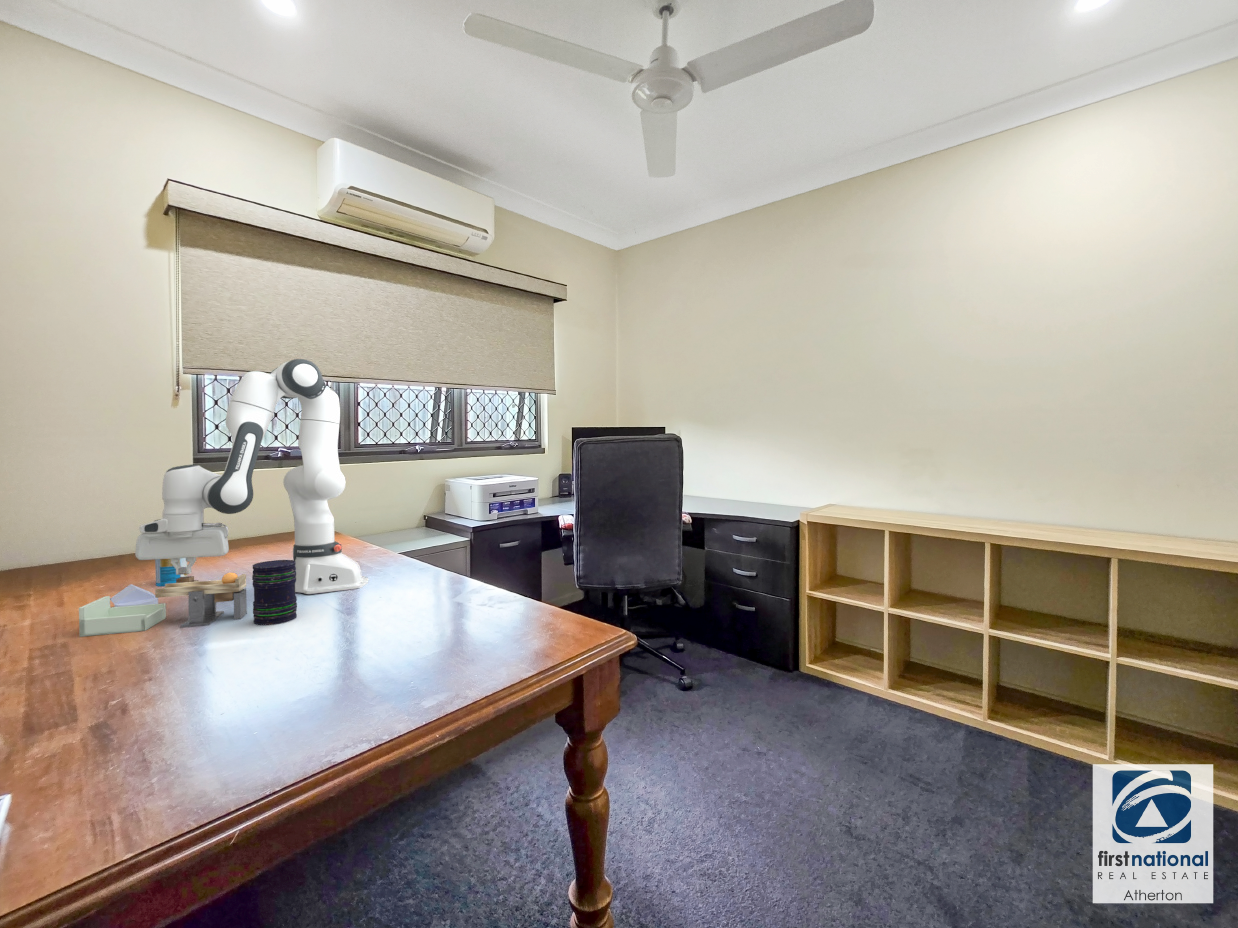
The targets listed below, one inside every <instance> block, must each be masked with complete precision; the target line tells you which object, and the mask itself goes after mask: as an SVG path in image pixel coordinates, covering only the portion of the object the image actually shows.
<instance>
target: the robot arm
mask: <svg viewBox="0 0 1238 928" xmlns="http://www.w3.org/2000/svg"><path fill="white" fill-rule="evenodd" d="M326 387H327V385H326V382H325V380H324V379H323V374H322V371H321V370H320V369H319V367H318V366H317V365H316V364H315V363H314V362H312V361H311V360H308V359H303V358H294V359H291V360H289V361H286V362H284V363H282V364H280V365H279V366H278V367H276V368H275V369H273V370H272V371H271V372H269V373H267V372H263V371H259V370H251V371H248V372H246V373H244V375H243V376H242V377H241V379H240V380H239V382H238V383H237V386H236V387H235V389H234V392H233V393H232V396H231V397H230V400H229V401H230V402H229V404H228V407H227V410H226V414H225V415H226V416H225V426H226V428H227V430H228V431H229V433H230V435H231V441H232V444H231V449H230V452H229V456H228V459H227V462H226V465H225V468H224V472H223V473H222V474H219V473H216V472H213V471H211V470H208V469H206V468H205V467H202V466H201V465H199V464H185V465H179V466H174V467H170V468H169V469H168V470H166V471H165V472H164V475H163V478H162V479H163V480H162V489H161V490H162V491H161V493H162V494H161V497H162V501H163V509H162V516H161V517H162V518H161V519H156V520H153V521H151V522H147V523H144V524H141V525H140V526H139V532H140V533H141V534H139V535H138V537H137V539H136V543H135V557H136V558H137V559H138V560H139V561H146V560H148V561H149V560H150V561H151V560H152V561H153V560H155V559H171V564H172V565H173V566H174V567H175V569H176V575H181V574H187V575H190V574H192V567H193V566H194V564H195V563H196V561H197V558H209V557H212V558H213V557H223V556H225V555H227V554H228V553H229V540H228V537H229V527H228V526H227V525H226V524H223V522H204V521H205V520H204V518H205V515H204V514H205V513H204V510H205V509H209V508H211V509H214V510H216V511H217V512H219V513H221V514H227V515H233V514H238V513H241V512H243V511H244V510H246V509H247V508H249V506H250V505H251V503H252V501H253V499H254V488H253V481H252V480H253V479H252V478H253V473H254V469H255V466H256V462H257V459H258V456H259V452H260V448H261V444H262V442H263V440H264V437H265V434H266V432H267V431H268V428H269V426H270V424H271V421H272V418H273V416H274V412H275V409H276V405H278V402H279V401H280V399H288V400H289V399H297V400H298V401H299V403H300V408H301V414H300V421H299V430H298V440H297V441H298V442H297V445H298V447H299V450H300V453H301V456H302V458H301V459H302V465H301V464H300V465H298V466H296V467H293V468H291V469H289V471H287V472H286V473H285V475H284V476H283V477H284V478H283V482H282V483H283V487H284V489H285V490H286V493H287V494H288V498H289V503H290V507H291V510H292V514H293V523H294V544H293V548H292V560H294V561H296V565H295V566H296V583H295V593H300V594H301V593H302V594H305V595H312V594H314V595H315V594H321V593H322V594H323V593H329V592H330V593H331V592H337V591H346V590H355V589H356V590H357V589H360V588H363V586H364V585H365V586H367V585H368V584H369V582H368V581H370V579H369V577H367V576H365V575H364V576H363V575H362V571H361V570H362V569H361V566H360V564H359V563H358V562H357V561H356V560H354V559H352V558H351V557H349V556H347V555H346V554H344V553H342V550H343V548H342V547H343V546H342V545H343V544H342V543H341V542H338V541H336V540H335V517H334V515H333V513H332V511H331V509H330V507H329V502H328V501H329V500H332V499H335V498H338V497H339V496H340V495H341V494H343V493H344V490H345V489H346V484H347V481H346V477H345V475H344V474H343V472H342V470H341V466H340V460H339V459H340V458H339V449H338V447H339V446H338V445H339V444H338V443H339V434H340V433H339V432H340V425H341V424H340V422H341V405H340V398H339V395H338V394H337V393H336V392H335V391H333V390H332V389H329V388H326ZM180 558H187V567H181V565H180V564H179V562H178V561H180ZM188 562H189V563H188ZM365 577H367V578H365ZM366 584H367V585H366ZM365 586H364V587H365Z"/></svg>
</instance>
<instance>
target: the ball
mask: <svg viewBox="0 0 1238 928" xmlns="http://www.w3.org/2000/svg"><path fill="white" fill-rule="evenodd" d="M237 577H239V575H238V574H236V573H235V572H227V573H225V574H224V575H223V576H222V578H221V580H222V583H223V584H228V583H235V579H236V578H237Z"/></svg>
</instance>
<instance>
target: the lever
mask: <svg viewBox="0 0 1238 928" xmlns="http://www.w3.org/2000/svg"><path fill="white" fill-rule="evenodd" d="M246 587H247V574H246V573H244V574H243V573H242V574H240V575H238V577H237V578H236V579H235V583H228V584H223V583H222V579H215V580H201V581H199V579H198V580H197V579H195V576H194V575H191V576H189V575H188V576H187V577H180V578H178V579H176V583H170V584H165V586H164V587H160V588H159V587H158V588H155V589H154V593H155V594H154V595H155V598H158V599H159V598H170V597H171V598H172V597H183V596H184V597H185V596H188V592H190V591H202V590H204V594H213V593H214V599H215V602H216V603H222V602H223V603H225V602H234V593H235V592H239V591H240V590H242V589H245V588H246Z"/></svg>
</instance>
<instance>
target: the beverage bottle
mask: <svg viewBox="0 0 1238 928" xmlns="http://www.w3.org/2000/svg"><path fill="white" fill-rule="evenodd" d="M178 562H179V564H180V565H181V567H187V565H188V562H187V558H180V561H178ZM154 563H155V570H154V571H155V586H156V587H165V584H170V583H176V579H178V578H180V577H188V574H181V575H176V569H175V567H174V566H173V565H172V564H171V559H154Z"/></svg>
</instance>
